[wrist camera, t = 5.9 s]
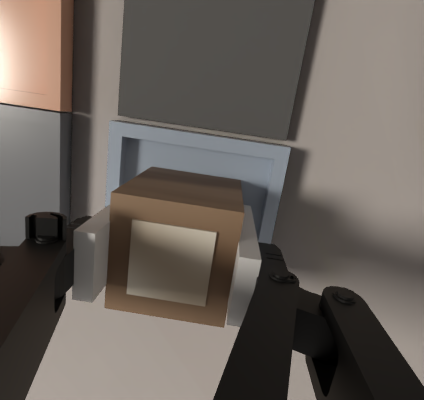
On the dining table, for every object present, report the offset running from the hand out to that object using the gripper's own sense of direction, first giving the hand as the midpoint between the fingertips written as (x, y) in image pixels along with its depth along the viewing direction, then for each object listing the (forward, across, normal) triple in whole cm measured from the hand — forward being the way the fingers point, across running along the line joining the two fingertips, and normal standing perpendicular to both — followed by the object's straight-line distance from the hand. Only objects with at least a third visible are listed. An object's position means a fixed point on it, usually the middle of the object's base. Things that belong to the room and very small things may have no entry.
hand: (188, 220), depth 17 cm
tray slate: (+1, 0, 0) cm, 1 cm away
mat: (+1, 0, +10) cm, 10 cm away
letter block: (+1, 0, 0) cm, 1 cm away
